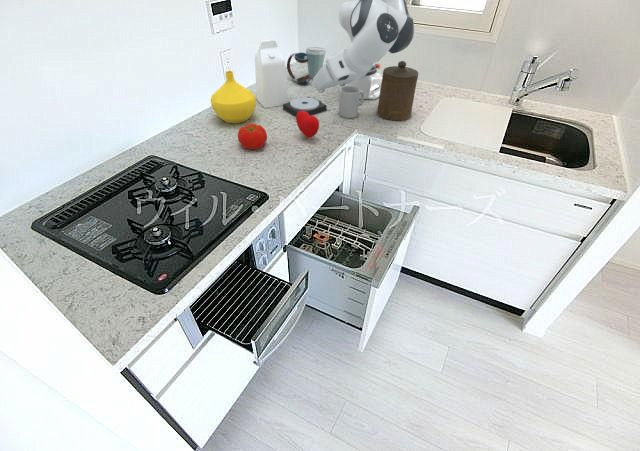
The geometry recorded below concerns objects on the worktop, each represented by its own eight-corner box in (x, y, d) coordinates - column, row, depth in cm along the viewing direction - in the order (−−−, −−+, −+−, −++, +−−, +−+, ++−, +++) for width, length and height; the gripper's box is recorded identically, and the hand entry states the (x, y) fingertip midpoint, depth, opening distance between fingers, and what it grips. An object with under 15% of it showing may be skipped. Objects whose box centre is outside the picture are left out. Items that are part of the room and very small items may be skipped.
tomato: (250, 136, 133) (248, 118, 128) (273, 143, 129) (271, 125, 124) (232, 147, 126) (229, 129, 121) (255, 155, 122) (253, 136, 117)
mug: (345, 119, 146) (347, 94, 139) (334, 112, 152) (336, 87, 144) (367, 114, 151) (370, 89, 144) (356, 107, 156) (358, 83, 149)
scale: (308, 101, 161) (308, 94, 159) (326, 110, 153) (326, 103, 151) (283, 109, 153) (282, 102, 151) (300, 119, 146) (300, 111, 144)
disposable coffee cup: (307, 73, 191) (306, 44, 181) (325, 74, 190) (326, 45, 180) (304, 79, 183) (304, 49, 173) (324, 80, 182) (325, 50, 172)
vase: (215, 130, 137) (205, 81, 124) (213, 111, 150) (204, 66, 137) (260, 125, 141) (255, 78, 128) (254, 108, 154) (249, 63, 141)
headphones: (322, 85, 174) (293, 79, 186) (321, 53, 164) (290, 49, 177) (314, 88, 170) (285, 82, 183) (312, 56, 161) (281, 51, 173)
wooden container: (401, 105, 159) (410, 55, 144) (416, 118, 148) (427, 65, 134) (372, 108, 155) (378, 57, 141) (385, 122, 145) (394, 68, 130)
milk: (280, 95, 166) (276, 36, 148) (288, 103, 158) (286, 42, 141) (256, 98, 162) (250, 38, 144) (264, 108, 154) (258, 45, 137)
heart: (322, 141, 131) (322, 117, 125) (311, 145, 129) (311, 121, 122) (303, 130, 138) (303, 106, 131) (293, 134, 135) (292, 110, 129)
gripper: (373, 47, 104) (349, 72, 116) (323, 59, 94) (302, 85, 106) (382, 66, 104) (357, 89, 116) (333, 80, 94) (311, 103, 106)
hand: (330, 87), depth 111 cm, fingers open, 8 cm apart
